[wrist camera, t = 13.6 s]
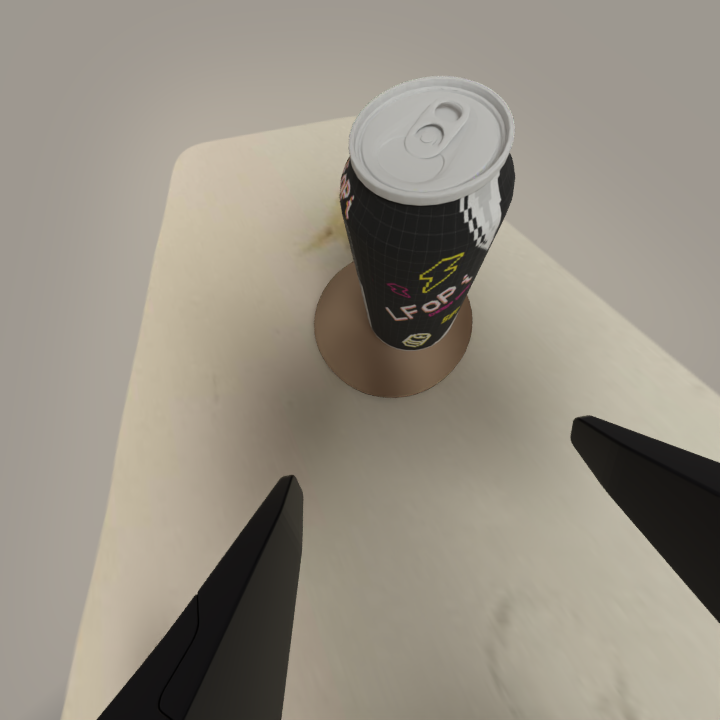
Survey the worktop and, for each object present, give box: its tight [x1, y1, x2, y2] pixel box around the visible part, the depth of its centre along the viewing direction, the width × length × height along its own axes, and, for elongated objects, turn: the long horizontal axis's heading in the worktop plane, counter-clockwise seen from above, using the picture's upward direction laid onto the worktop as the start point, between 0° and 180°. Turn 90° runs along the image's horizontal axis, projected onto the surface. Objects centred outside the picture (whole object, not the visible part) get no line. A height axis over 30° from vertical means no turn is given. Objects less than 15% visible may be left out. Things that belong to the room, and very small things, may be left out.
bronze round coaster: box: [314, 262, 472, 398], centre depth 20 cm, size 11×11×1 cm
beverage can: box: [340, 76, 515, 351], centre depth 13 cm, size 6×6×12 cm
